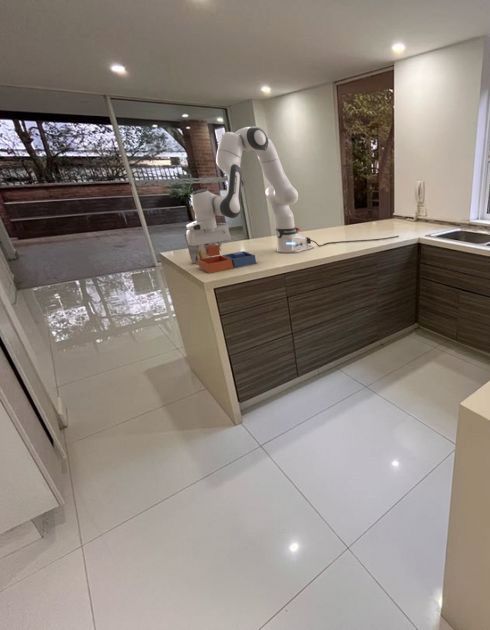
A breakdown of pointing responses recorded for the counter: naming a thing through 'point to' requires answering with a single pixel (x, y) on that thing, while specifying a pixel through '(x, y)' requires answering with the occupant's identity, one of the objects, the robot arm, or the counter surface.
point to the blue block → (238, 255)
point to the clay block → (212, 250)
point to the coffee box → (196, 252)
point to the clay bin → (215, 264)
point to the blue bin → (242, 259)
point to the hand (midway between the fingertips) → (212, 251)
